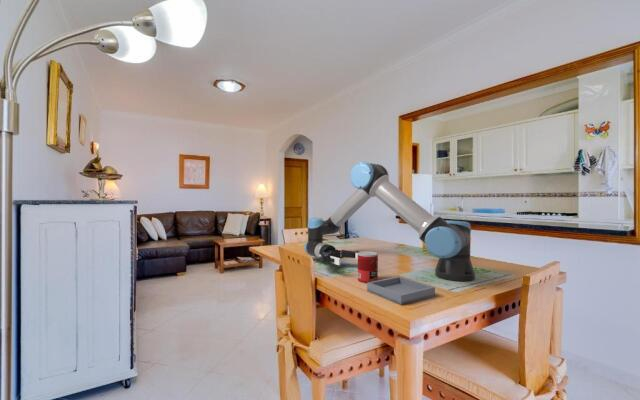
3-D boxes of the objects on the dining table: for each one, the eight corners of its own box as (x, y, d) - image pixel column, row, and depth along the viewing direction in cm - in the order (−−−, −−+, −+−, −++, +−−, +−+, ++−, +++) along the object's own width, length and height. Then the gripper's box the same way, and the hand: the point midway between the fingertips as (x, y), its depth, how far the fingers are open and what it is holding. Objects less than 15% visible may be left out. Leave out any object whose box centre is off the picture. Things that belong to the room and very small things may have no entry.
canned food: (373, 284, 115) (373, 255, 115) (354, 281, 119) (354, 253, 119) (380, 280, 121) (380, 252, 121) (362, 277, 126) (362, 250, 125)
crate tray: (399, 284, 116) (399, 276, 116) (435, 296, 102) (435, 287, 102) (367, 291, 107) (367, 282, 107) (401, 305, 94) (401, 295, 94)
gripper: (346, 256, 153) (375, 265, 135) (302, 262, 140) (328, 273, 122) (346, 242, 153) (375, 248, 134) (302, 246, 139) (328, 254, 121)
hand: (353, 260), depth 128 cm, fingers open, 13 cm apart
